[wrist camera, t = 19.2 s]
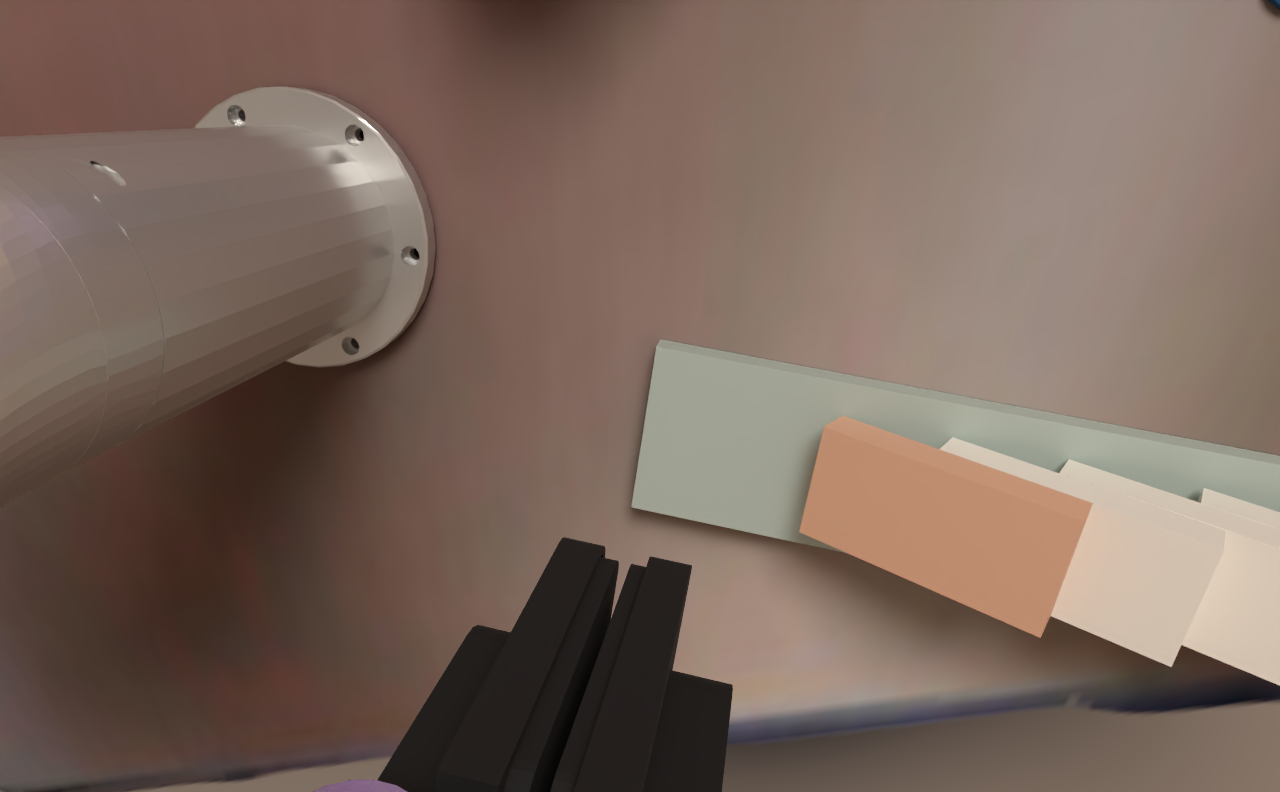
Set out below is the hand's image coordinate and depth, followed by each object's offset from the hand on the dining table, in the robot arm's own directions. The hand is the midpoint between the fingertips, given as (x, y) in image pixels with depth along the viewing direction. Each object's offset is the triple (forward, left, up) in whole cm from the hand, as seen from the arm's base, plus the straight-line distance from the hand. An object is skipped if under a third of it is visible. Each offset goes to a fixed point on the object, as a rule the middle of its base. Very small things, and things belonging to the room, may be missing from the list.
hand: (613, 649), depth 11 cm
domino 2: (+10, -8, -25) cm, 28 cm away
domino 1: (+5, -8, -25) cm, 27 cm away
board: (+11, -8, -27) cm, 30 cm away
